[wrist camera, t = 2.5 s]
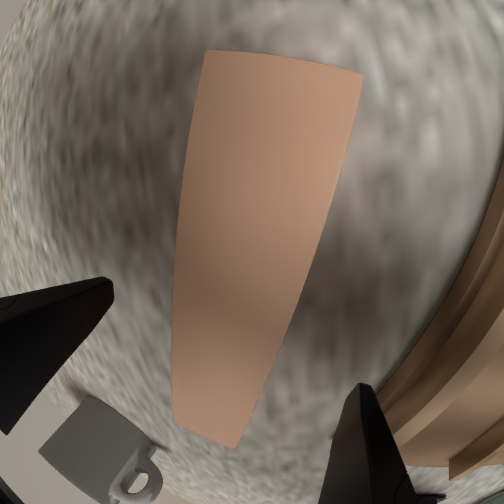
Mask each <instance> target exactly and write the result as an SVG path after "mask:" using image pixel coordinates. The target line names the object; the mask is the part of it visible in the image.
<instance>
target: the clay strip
mask: <svg viewBox="0 0 504 504" xmlns="http://www.w3.org/2000/svg"><path fill="white" fill-rule="evenodd" d="M363 80H364V75H362V74H359V73H356V72H352V71H349V70H345V69H341V68H337V67H333V66H329V65H325V64H320V63H316V62H311V61H306V60H301V59H295V58H290V57H283V56H277V55H269V54H261V53H252V52H241V51H226V50H206V52H205V56H204V60H203V65H202V69H201V74H200V78H199V83H198V88H197V93H196V98H195V103H194V109H193V114H192V120H191V125H190V131H189V137H188V144H187V150H186V157H185V164H184V171H183V179H182V187H181V196H180V204H179V214H178V224H177V235H176V247H175V261H174V277H173V297H172V331H171V374H172V407H173V422H174V423H176V424H178V425H180V426H182V427H184V428H186V429H188V430H190V431H192V432H194V433H196V434H199V435H201V436H203V437H205V438H207V439H210V440H212V441H214V442H217V443H219V444H222V445H224V446H227V447H229V448H232V449H234V450H235V448H236V446H237V444H238V442H239V440H240V438H241V436H242V434H243V432H244V430H245V427H246V425H247V423H248V421H249V419H250V417H251V415H252V412H253V410H254V408H255V406H256V404H257V401H258V399H259V397H260V395H261V392H262V390H263V388H264V385H265V383H266V381H267V378H268V376H269V374H270V371H271V369H272V367H273V364H274V362H275V359H276V357H277V354H278V352H279V350H280V347H281V345H282V342H283V340H284V337H285V334H286V332H287V329H288V327H289V324H290V322H291V319H292V316H293V314H294V311H295V308H296V306H297V303H298V300H299V298H300V295H301V292H302V290H303V287H304V284H305V281H306V278H307V276H308V273H309V270H310V267H311V264H312V261H313V258H314V255H315V252H316V249H317V246H318V243H319V240H320V237H321V234H322V231H323V228H324V225H325V222H326V219H327V215H328V212H329V209H330V206H331V202H332V199H333V196H334V193H335V189H336V186H337V182H338V179H339V175H340V172H341V168H342V165H343V161H344V157H345V154H346V150H347V146H348V143H349V139H350V135H351V131H352V127H353V123H354V119H355V115H356V111H357V107H358V102H359V98H360V94H361V89H362V85H363Z"/></svg>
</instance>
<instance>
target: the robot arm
mask: <svg viewBox="0 0 504 504" xmlns="http://www.w3.org/2000/svg"><path fill="white" fill-rule="evenodd" d="M113 302H114V289H113V282H112V281H111V280H110V279H108V278H106V277H103V276H102V277H97V278H92V279H88V280H83V281H78V282H73V283H69V284H64V285H59V286H54V287H50V288H45V289H40V290H35V291H31V292H26V293H22V294H17V295H12V296H7V297H1V298H0V430H1V431H2V432H3V433H4V434H5V435H8V434H9V433H10V431H11V430H12V428H13V427H14V426H15V424H16V423H17V422H18V420H19V419H20V418H21V416H22V415H23V414H24V412H25V411H26V410H27V408H28V407H29V406H30V405H31V403H32V402H33V401H34V399H35V398H36V397H37V395H38V394H39V393H40V392H41V390H42V389H43V388H44V387H45V386H46V384H47V383H48V382H49V381H50V379H51V378H52V377H53V376H54V375H55V373H56V372H57V371H58V370H59V369H60V368H61V366H62V365H63V364H64V363H65V362H66V361H67V359H68V358H69V357H70V356H71V355H72V354H73V352H74V351H75V350H76V349H77V348H78V347H79V346H80V344H81V343H82V342H83V341H84V340H85V339H86V338H87V337H88V336H89V334H90V333H91V332H92V331H93V329H94V328H95V327H96V325H97V324H98V323H99V321H100V320H101V319H102V317H103V316H104V315H105V313H106V312H107V311H108V309H109V308H110V307H111V305H112V304H113ZM444 499H446V495H439V496H417V495H416V493H415V490H414V488H413V485H412V483H411V480H410V477H409V475H408V474H407V470H406V467H405V465H404V462H403V460H402V457H401V455H400V452H399V450H398V447H397V445H396V442H395V440H394V437H393V435H392V432H391V430H390V428H389V425H388V423H387V421H386V418H385V416H384V414H383V411H382V409H381V407H380V404H379V402H378V400H377V398H376V395H375V393H374V391H373V389H372V387H371V386H370V385H368V384H364V383H358V384H357V385H356V386H355V388H354V389H353V390H352V391H351V393H350V394H349V395H348V396H347V398H346V400H345V403H344V407H343V410H342V414H341V417H340V420H339V424H338V427H337V430H336V433H335V437H334V440H333V444H332V448H331V453H330V458H329V462H328V467H327V471H326V475H325V479H324V483H323V487H322V491H321V495H320V498H319V502H318V504H437V503H438V502H440V501H442V500H444ZM0 504H24V503H23V502H22V501H21V499H20V498H19V497H18V496H17V495H16V494H15V493H14V492H13V491H12V490H11V489H10V488H9V486H8V485H7V484H6V483H5V482H4V480H3V479H2V478H1V477H0Z"/></svg>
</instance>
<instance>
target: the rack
mask: <svg viewBox="0 0 504 504" xmlns="http://www.w3.org/2000/svg"><path fill="white" fill-rule="evenodd" d="M503 242H504V157H503V161H502V165H501V169H500V172H499V176H498V179H497V183H496V186H495V189H494V192H493V195H492V198H491V201H490V204H489V207H488V209H487V212H486V215H485V217H484V220H483V223H482V225H481V228H480V230H479V232H478V235H477V237H476V239H475V242H474V244H473V246H472V248H471V251H470V253H469V255H468V257H467V259H466V261H465V263H464V265H463V267H462V269H461V271H460V273H459V275H458V277H457V279H456V281H455V283H454V284H453V286H452V288H451V290H450V292H449V293H448V295H447V297H446V299H445V300H444V302H443V304H442V305H441V307H440V309H439V310H438V312H437V314H436V315H435V317H434V318H433V320H432V322H431V323H430V325H429V326H428V328H427V329H426V331H425V332H424V334H423V335H422V337H421V338H420V340H419V341H418V342H417V344H416V345H415V347H414V348H413V349H412V351H411V352H410V354H409V355H408V356H407V358H406V359H405V360H404V362H403V363H402V364H401V365H400V367H399V368H398V369H397V371H396V372H395V373H394V374H393V376H392V377H391V378H390V379H389V380H388V382H387V383H386V384H385V385H384V386H383V388H382V389H381V390H380V391H379V392H378V393H377V395H376V398H377V400H378V402H379V404H380V407H381V409H382V411H383V414H385V413H386V412H387V411H388V410H389V409H390V408H391V407H392V406H393V405H394V404H395V403H396V402H397V401H398V400H399V399H400V397H401V396H402V395H403V394H404V393H405V392H406V391H407V390H408V389H409V388H410V387H411V385H412V384H413V383H414V382H415V381H416V380H417V379H418V377H419V376H420V375H421V374H422V373H423V371H424V370H425V369H426V368H427V367H428V365H429V364H430V363H431V362H432V360H433V359H434V358H435V357H436V355H437V354H438V353H439V351H440V350H441V349H442V347H443V346H444V345H445V343H446V342H447V340H448V339H449V338H450V336H451V335H452V333H453V332H454V330H455V329H456V328H457V326H458V325H459V323H460V321H461V320H462V318H463V317H464V315H465V314H466V312H467V311H468V309H469V307H470V306H471V304H472V302H473V301H474V299H475V297H476V296H477V294H478V292H479V290H480V288H481V287H482V285H483V283H484V281H485V279H486V277H487V275H488V274H489V272H490V270H491V268H492V266H493V264H494V262H495V259H496V257H497V255H498V253H499V251H500V249H501V246H502V244H503ZM503 418H504V343H503V344H502V346H501V347H500V348H499V350H498V351H497V352H496V354H495V355H494V356H493V358H492V359H491V360H490V361H489V363H488V364H487V365H486V366H485V367H484V369H483V370H482V371H481V372H480V373H479V374H478V376H477V377H476V378H475V379H474V380H473V381H472V382H471V383H470V385H469V386H468V387H467V388H466V389H465V390H464V391H463V392H462V393H461V394H460V395H459V396H458V397H457V398H456V399H455V400H454V401H453V402H452V403H451V404H450V405H449V406H448V407H447V408H446V409H445V410H444V411H443V412H442V413H441V414H440V415H438V416H437V417H436V418H435V419H434V420H433V421H432V422H431V423H429V424H428V425H427V426H426V427H425V428H424V429H422V430H421V431H420V432H419V433H418V434H416V435H415V436H414V437H413V438H411V439H410V440H409V441H407V442H406V443H405V444H403V445H402V446H401V447H399V448H398V450H399V452H400V455H401V457H402V460H403V462H404V465H408V466H423V467H449V460H451V459H452V458H454V457H455V456H457V455H458V454H459V453H461V452H462V451H464V450H465V449H466V448H468V447H469V446H470V445H472V444H473V443H474V442H475V441H477V440H478V439H479V438H481V437H482V436H483V435H484V434H485V433H487V432H488V431H489V430H490V429H491V428H492V427H494V426H495V425H496V424H497V423H498V422H499V421H500V420H501V419H503ZM333 440H334V439H333ZM333 440H332V444H333ZM331 448H332V445H331ZM330 453H331V450H330ZM497 464H504V450H503V451H502V452H501V453H499V454H498V455H497V456H495V457H494V458H492V459H491V460H490V461H488V462H487V463H485V464H484V465H482V466H487V465H497Z"/></svg>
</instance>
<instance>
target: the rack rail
mask: <svg viewBox="0 0 504 504" xmlns="http://www.w3.org/2000/svg"><path fill="white" fill-rule="evenodd" d="M503 343H504V242H503V244H502V246H501V249H500V251H499V253H498V255H497V257H496V259H495V262H494V264H493V266H492V268H491V270H490V272H489V274H488V275H487V277H486V279H485V281H484V283H483V285H482V287H481V288H480V290H479V292H478V294H477V296H476V297H475V299H474V301H473V302H472V304H471V306H470V307H469V309H468V311H467V312H466V314H465V315H464V317H463V318H462V320H461V321H460V323H459V325H458V326H457V328H456V329H455V330H454V332H453V333H452V335H451V336H450V338H449V339H448V340H447V342H446V343H445V345H444V346H443V347H442V349H441V350H440V351H439V353H438V354H437V355H436V357H435V358H434V359H433V360H432V362H431V363H430V364H429V365H428V367H427V368H426V369H425V370H424V371H423V373H422V374H421V375H420V376H419V377H418V379H417V380H416V381H415V382H414V383H413V384H412V385H411V387H410V388H409V389H408V390H407V391H406V392H405V393H404V394H403V395H402V396H401V397H400V399H399V400H398V401H397V402H396V403H395V404H394V405H393V406H392V407H391V408H390V409H389V410H388V411H387V412H386V413H385V414H384V416H385V418H386V421H387V423H388V425H389V428H390V430H391V432H392V435H393V437H394V440H395V442H396V445H397V447H398V448H399V447H401V446H402V445H403V444H405V443H406V442H407V441H409V440H410V439H411V438H413V437H414V436H415V435H416V434H418V433H419V432H420V431H421V430H422V429H424V428H425V427H426V426H427V425H428V424H429V423H431V422H432V421H433V420H434V419H435V418H436V417H437V416H438V415H440V414H441V413H442V412H443V411H444V410H445V409H446V408H447V407H448V406H449V405H450V404H451V403H452V402H453V401H454V400H455V399H456V398H457V397H458V396H459V395H460V394H461V393H462V392H463V391H464V390H465V389H466V388H467V387H468V386H469V385H470V383H471V382H472V381H473V380H474V379H475V378H476V377H477V376H478V374H479V373H480V372H481V371H482V370H483V369H484V367H485V366H486V365H487V364H488V363H489V361H490V360H491V359H492V358H493V356H494V355H495V354H496V352H497V351H498V350H499V348H500V347H501V346H502V344H503Z"/></svg>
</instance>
